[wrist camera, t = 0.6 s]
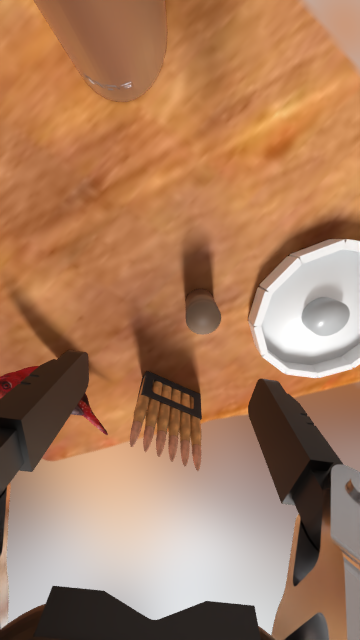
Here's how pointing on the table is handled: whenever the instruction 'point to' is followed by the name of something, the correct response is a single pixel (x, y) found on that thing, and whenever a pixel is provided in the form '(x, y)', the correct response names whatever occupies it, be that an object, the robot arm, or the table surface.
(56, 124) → the table surface
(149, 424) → the ammunition clip
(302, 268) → the ring tray
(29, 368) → the decorative bird figurine
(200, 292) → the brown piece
